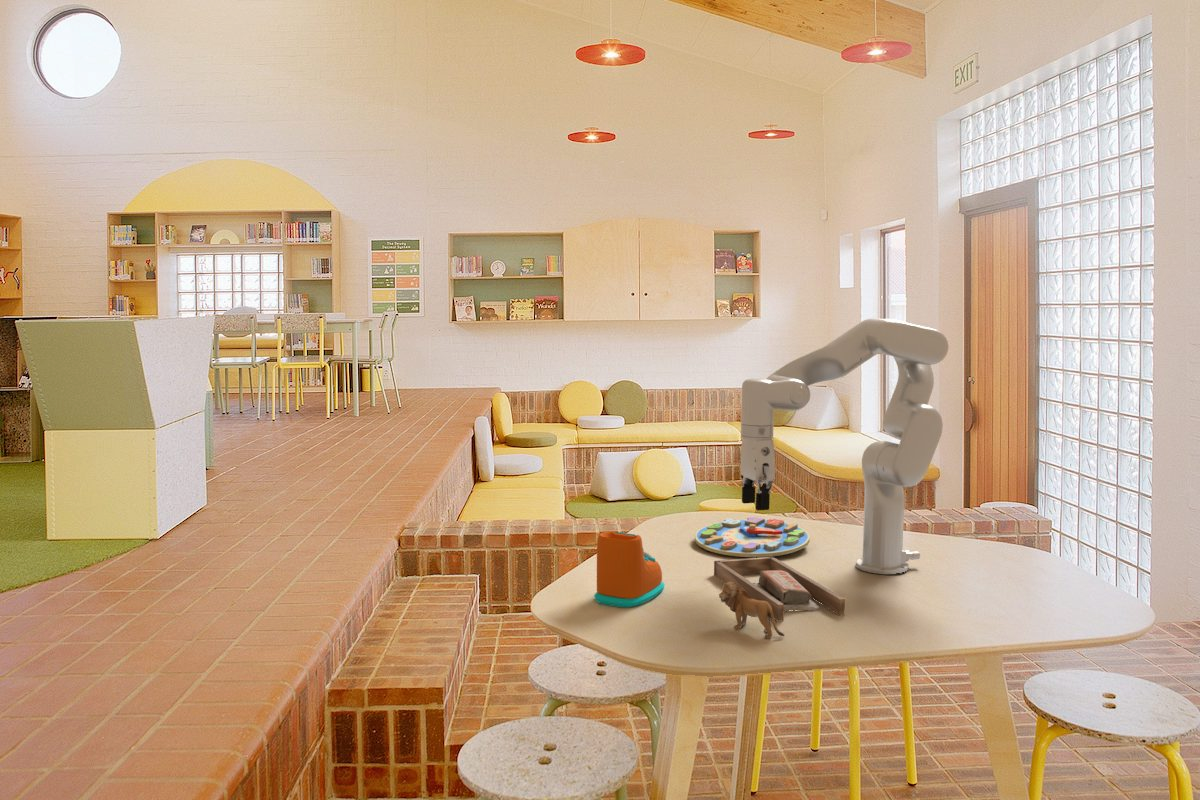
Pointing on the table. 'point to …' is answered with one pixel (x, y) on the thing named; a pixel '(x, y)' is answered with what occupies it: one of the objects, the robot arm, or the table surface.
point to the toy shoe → (625, 571)
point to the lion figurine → (747, 607)
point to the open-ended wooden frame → (732, 573)
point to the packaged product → (786, 590)
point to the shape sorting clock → (752, 537)
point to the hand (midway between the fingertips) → (755, 505)
